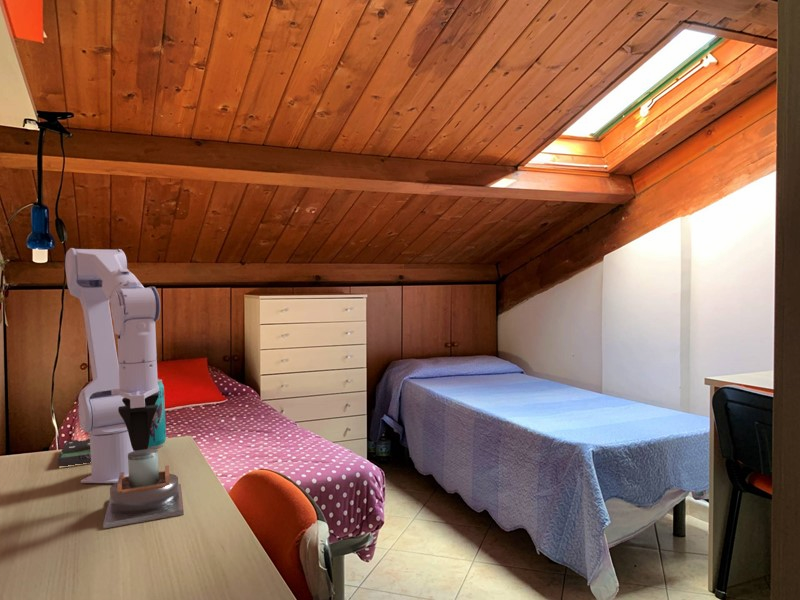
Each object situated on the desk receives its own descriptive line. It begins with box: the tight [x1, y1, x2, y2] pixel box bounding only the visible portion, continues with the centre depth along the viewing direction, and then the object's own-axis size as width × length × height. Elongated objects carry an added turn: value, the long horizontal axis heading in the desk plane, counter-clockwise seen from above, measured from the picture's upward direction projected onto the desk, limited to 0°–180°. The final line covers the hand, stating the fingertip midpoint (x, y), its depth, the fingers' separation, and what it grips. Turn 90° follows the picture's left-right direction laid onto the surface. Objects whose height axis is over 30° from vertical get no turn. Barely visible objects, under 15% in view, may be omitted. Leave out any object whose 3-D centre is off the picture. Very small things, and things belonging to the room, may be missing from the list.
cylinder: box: [128, 448, 160, 488], centre depth 90 cm, size 4×4×5 cm
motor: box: [102, 465, 185, 530], centre depth 90 cm, size 13×11×5 cm
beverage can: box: [148, 378, 167, 450], centre depth 126 cm, size 6×6×15 cm
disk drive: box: [57, 437, 91, 466], centre depth 121 cm, size 10×3×15 cm
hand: (141, 443), depth 92 cm, fingers open, 7 cm apart
